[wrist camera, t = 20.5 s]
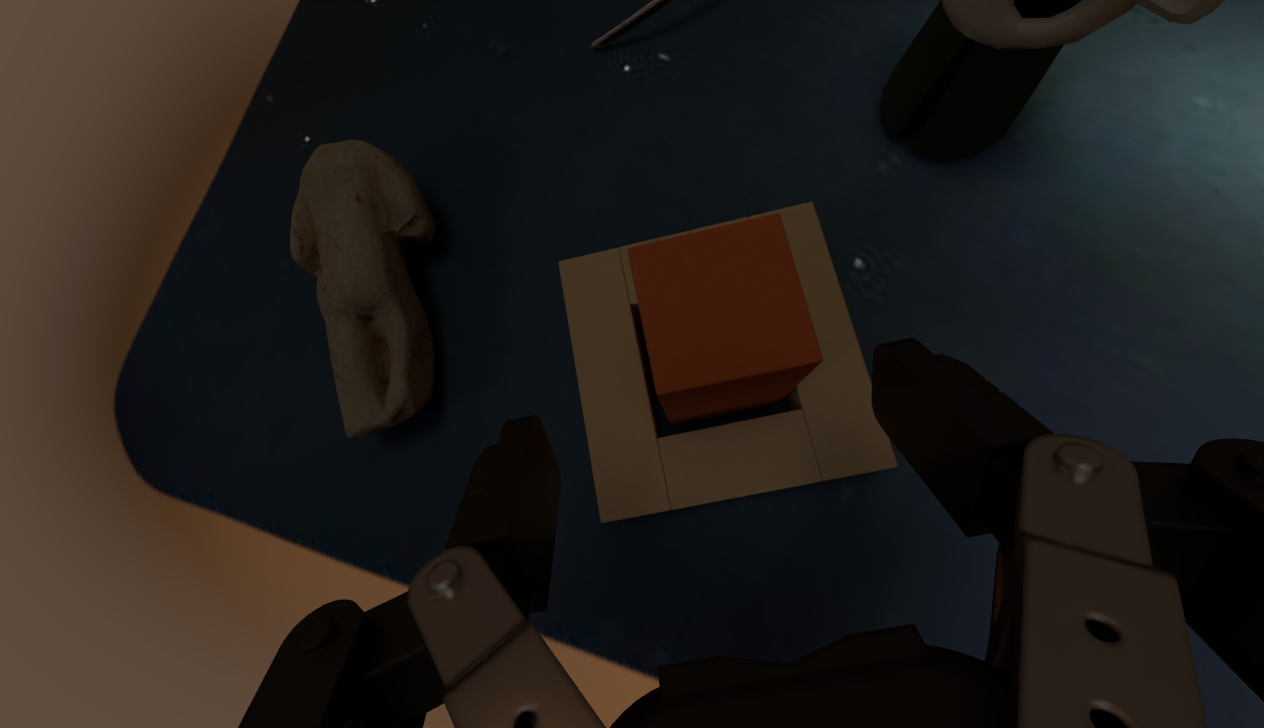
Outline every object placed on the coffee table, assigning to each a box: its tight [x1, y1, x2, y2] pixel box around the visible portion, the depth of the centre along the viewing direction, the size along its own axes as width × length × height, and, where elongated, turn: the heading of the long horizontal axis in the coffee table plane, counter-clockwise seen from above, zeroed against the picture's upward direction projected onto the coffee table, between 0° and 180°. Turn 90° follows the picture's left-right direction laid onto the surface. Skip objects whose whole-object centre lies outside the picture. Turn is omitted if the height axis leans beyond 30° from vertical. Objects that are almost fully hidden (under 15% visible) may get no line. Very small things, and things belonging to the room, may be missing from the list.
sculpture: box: [290, 140, 436, 440], centre depth 25 cm, size 7×5×15 cm
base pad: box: [559, 202, 898, 523], centre depth 22 cm, size 12×12×2 cm
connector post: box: [628, 213, 823, 426], centre depth 19 cm, size 5×5×9 cm
